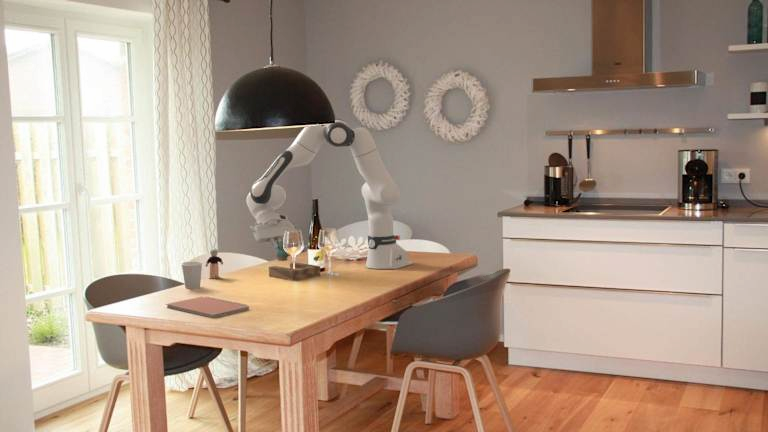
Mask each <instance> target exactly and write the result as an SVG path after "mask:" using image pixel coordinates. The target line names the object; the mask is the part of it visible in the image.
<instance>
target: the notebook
mask: <svg viewBox="0 0 768 432" xmlns="http://www.w3.org/2000/svg"><path fill="white" fill-rule="evenodd" d="M165 305H166V306H167V308H168V309H169V308H170V309H172V310H173V309H174V310H178V311H183V312H186V313H189V314H194V315H200V316H204V317H206V318H207V317H208V318H212V319H213V318H219V317H223V316H227V315H231V314H236V313H239V312H244V311H249V309H250V305H249V306H248V305H247V304H245V303H240V302H235V301H230V300H224V299H221V298H220V299H219V298H215V297H210V296H198V297H193V298H190V299H184V300H180V301H175V302H174V301H173V302H170V303H166V304H165Z"/></svg>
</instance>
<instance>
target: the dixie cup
mask: <svg viewBox="0 0 768 432" xmlns="http://www.w3.org/2000/svg"><path fill="white" fill-rule="evenodd" d="M180 265H181V269H182V275H183V281H184V287H185V289H186V290H196V289H200V288H201V280H202V270H203V269H202V267H203V262H202V261H199V260H198V261H197V260H196V261H195V260H192V261H183V262H182V263H181V264H180Z"/></svg>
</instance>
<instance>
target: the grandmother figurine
mask: <svg viewBox="0 0 768 432" xmlns="http://www.w3.org/2000/svg"><path fill="white" fill-rule="evenodd" d="M209 252H210V253H209V254H210V255H211V256H210V257H209V258H208V259H207V260H206V263H205V265H204V266H205V267H209V278H208V279H209V280H212V279H214V278H215V279H220V276H219V263H220V264H221V265H224V262H223V259H222V257H220V256H218V253H219V250H218V249H217V248H214V247H213V248H210V251H209Z"/></svg>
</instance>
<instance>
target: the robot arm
mask: <svg viewBox="0 0 768 432" xmlns="http://www.w3.org/2000/svg"><path fill="white" fill-rule="evenodd" d="M327 143H328V144H330V145H331V146H332V147H336V148H342V147H348V148H349V149H350V152H351V155H352V157H353V159H354V162H355V165H356V168H357V170H358V172H359V174H360V175H361V176H362V177H363V179H364V184H362V186H361V189H360V190H361V195H362V198H363V199H364V204H365V208H366V209H365V210H366V213H367V221H368V235H367V245H368V247H367V256H366V262H365V267H366V268H368V269H375V270H385V269H386V270H388V269H390V270H392V269H393V270H397V269H401V268H404V267H406V266H410V265H413V264H414V263H413V262H414V261H412V260H408V254H407V253H408V252H407V250H405V249H404V248H403V247H401V246H400V244H398V243H397V241H399V240H400V239H401V236H400V235H397V234H396V235H395V234H394V217H393V215H392V213H391V209H390V206H391V205H394V204H396V203H397V202H398V200H399V199H400V197H401V196H400V195H401V192H400V189H399V187H398V185H397V184H396V183H395V182H394V180H393V179H392V177H391V175H390V174H389V172H388V171H387V168H386V167H385V165H384V162H383V161H382V158H381V155H380V153H379V150H378V148H377V145H376V142H375V140H374V138H373V135H371V133H370V131H369V130H368V129H367V128H366V127H363V126H362V127H361V126H360V127H355V128H351V127H350V126H349V125H348V124H347V122H345V121H344V120H343V119H340V118H335V124H329V125H323V124H319V125H318V126H308V127H304V128H303V129H302V130H301V131H300V132H299V134H297V136H296V138H295V139H294V140H293V142H292V143H291V144H290V146H289V147H287V149H285V150H284V151H283V152H281V153H280V154H279V155H278V157H277V158H276V159H275V160H274V161H273V162H272V163H271V165H270V166H269V167H268V169H266V170H265V172H264V173H263V175H262V176H261V177H259V178H258V179H257V180H255V182H254V183H253V184H252V186H251V188H250V192H248V194H247V196H246V200H245V202H246V205H247V208H248V210H249V212H250V214H251V215H252V217H253V218H254V219H255V221H256V223H253V224H252V225H250V229H251V231H252V233H253V237H254V238H255V241H256V242H257V243H259V244H263V243H269V244H270V245H271V246H273V248H274V249H276V250H277V248H279V247H280V245H279V244H278V243H277V237H283V236H284V233H285V231H290V230H296V231H297V229H296V228H295V226H294V224H292V222H291V221H289V220H288V219H289V218H288V216H287V215H283V214H280V213H276V212H275V211H276V210H278V209H279V208H281V207H282V206H283V205H284V204H285V203H286V202H287V198H288V196H287V195H288V194H287V190H286V189H285V188H284V187H282V186H280V185H277V184H276V183H277V182H278V180H279V179H280V178H281V177H282V175H284V173H286V171H287V170H289V169H292V168H296V167H304V166H307V165H309V164H310V163H311V162H312V160H313V159H314V158H315V156H317V154H318V152H319V150H320V148H321V147H322V146H323V145H325V144H327Z"/></svg>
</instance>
